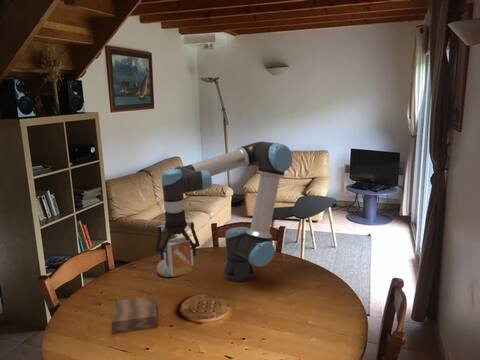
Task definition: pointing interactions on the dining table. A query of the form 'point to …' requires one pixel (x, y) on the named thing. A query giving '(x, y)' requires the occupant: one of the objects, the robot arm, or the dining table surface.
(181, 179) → the robot arm
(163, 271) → the sea urchin shell
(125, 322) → the walnut block
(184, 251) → the small box
